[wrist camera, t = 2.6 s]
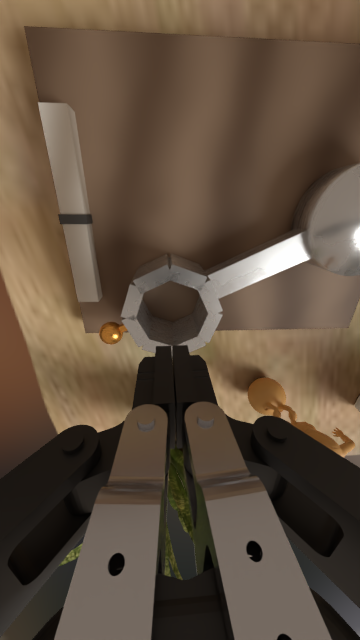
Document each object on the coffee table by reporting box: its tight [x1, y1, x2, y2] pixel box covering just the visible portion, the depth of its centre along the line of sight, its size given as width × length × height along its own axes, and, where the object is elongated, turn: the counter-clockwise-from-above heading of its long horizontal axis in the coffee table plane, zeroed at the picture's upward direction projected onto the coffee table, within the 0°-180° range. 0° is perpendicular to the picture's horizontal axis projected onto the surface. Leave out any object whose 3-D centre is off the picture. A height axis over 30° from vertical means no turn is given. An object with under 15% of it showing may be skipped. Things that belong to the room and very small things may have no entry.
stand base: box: [24, 26, 360, 333], centre depth 17 cm, size 25×19×3 cm
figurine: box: [248, 378, 355, 458], centre depth 21 cm, size 8×6×12 cm
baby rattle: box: [99, 163, 360, 353], centre depth 16 cm, size 24×7×4 cm, turn 114°
